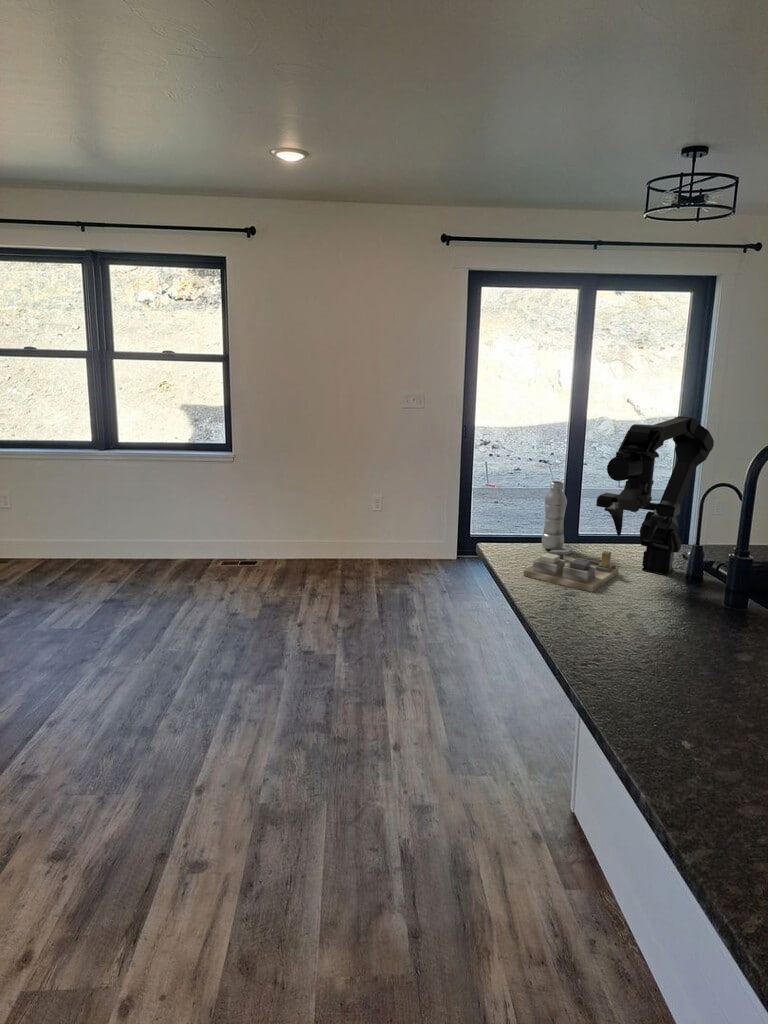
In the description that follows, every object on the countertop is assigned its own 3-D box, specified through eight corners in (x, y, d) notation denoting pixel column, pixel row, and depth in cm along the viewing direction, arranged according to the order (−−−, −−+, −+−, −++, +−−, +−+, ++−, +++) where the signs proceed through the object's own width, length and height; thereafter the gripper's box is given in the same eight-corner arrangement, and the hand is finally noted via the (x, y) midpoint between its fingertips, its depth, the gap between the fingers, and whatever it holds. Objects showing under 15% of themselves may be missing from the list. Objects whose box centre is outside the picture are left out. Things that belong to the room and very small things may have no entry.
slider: (612, 568, 166) (614, 552, 165) (609, 570, 165) (610, 554, 164) (601, 565, 168) (602, 550, 167) (597, 567, 167) (599, 552, 166)
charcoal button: (589, 569, 160) (590, 561, 159) (583, 573, 157) (584, 565, 156) (575, 566, 162) (576, 559, 161) (569, 570, 159) (570, 562, 159)
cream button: (559, 563, 164) (559, 555, 164) (553, 566, 162) (553, 558, 161) (546, 560, 167) (546, 552, 166) (539, 563, 164) (540, 555, 163)
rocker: (572, 552, 173) (572, 549, 173) (568, 554, 171) (567, 551, 171) (552, 552, 177) (552, 549, 176) (548, 554, 174) (548, 552, 174)
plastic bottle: (540, 551, 187) (545, 483, 182) (541, 545, 193) (546, 479, 189) (563, 553, 185) (568, 485, 181) (563, 547, 191) (569, 481, 187)
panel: (618, 573, 168) (619, 558, 167) (591, 592, 154) (593, 575, 153) (553, 560, 179) (554, 545, 178) (523, 575, 165) (524, 560, 164)
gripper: (590, 476, 156) (585, 538, 160) (670, 486, 145) (662, 552, 149) (607, 470, 165) (601, 529, 168) (684, 479, 153) (676, 542, 157)
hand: (633, 538), depth 160 cm, fingers open, 7 cm apart
